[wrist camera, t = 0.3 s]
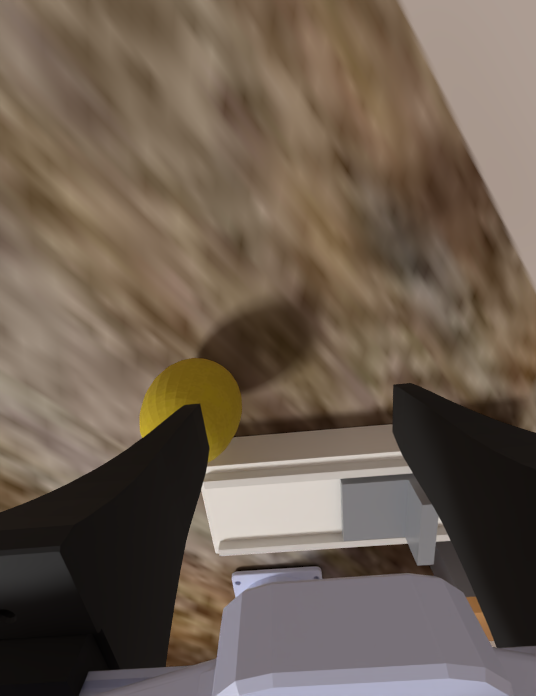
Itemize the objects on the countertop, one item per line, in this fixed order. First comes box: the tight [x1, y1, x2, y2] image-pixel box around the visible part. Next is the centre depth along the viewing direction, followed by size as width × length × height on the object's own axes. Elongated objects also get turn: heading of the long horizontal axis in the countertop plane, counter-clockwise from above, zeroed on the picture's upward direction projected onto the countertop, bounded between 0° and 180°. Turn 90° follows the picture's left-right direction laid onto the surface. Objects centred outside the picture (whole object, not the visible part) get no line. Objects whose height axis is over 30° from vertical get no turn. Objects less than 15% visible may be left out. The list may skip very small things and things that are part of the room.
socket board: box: [201, 424, 451, 556], centre depth 23 cm, size 20×8×4 cm, turn 96°
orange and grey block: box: [429, 541, 494, 641], centre depth 25 cm, size 3×3×6 cm
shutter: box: [340, 473, 439, 566], centre depth 21 cm, size 5×5×3 cm
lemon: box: [140, 358, 242, 462], centre depth 19 cm, size 6×6×8 cm
